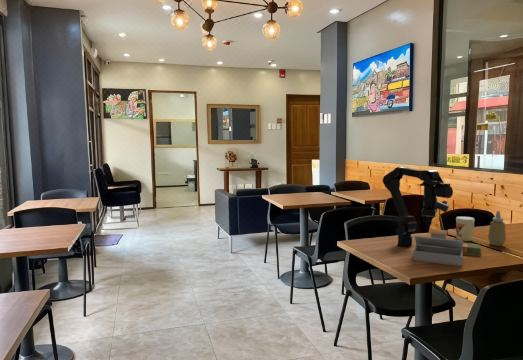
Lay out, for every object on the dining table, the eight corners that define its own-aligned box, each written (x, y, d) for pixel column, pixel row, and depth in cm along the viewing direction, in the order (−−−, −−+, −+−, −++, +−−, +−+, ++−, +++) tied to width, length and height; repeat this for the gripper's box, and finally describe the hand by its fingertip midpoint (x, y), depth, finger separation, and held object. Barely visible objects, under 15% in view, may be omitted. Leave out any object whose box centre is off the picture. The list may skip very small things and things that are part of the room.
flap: (414, 236, 180) (415, 227, 181) (416, 244, 189) (417, 235, 191) (463, 241, 170) (463, 231, 172) (462, 249, 180) (462, 239, 182)
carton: (443, 248, 199) (444, 240, 199) (479, 252, 192) (479, 243, 192) (443, 252, 192) (444, 244, 191) (480, 256, 185) (481, 248, 185)
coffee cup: (452, 237, 221) (452, 216, 220) (468, 237, 221) (469, 216, 220) (459, 241, 212) (460, 219, 211) (477, 241, 212) (478, 219, 210)
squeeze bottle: (507, 247, 199) (509, 212, 197) (489, 246, 202) (491, 212, 200) (503, 243, 207) (505, 210, 205) (486, 242, 209) (487, 209, 207)
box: (413, 260, 179) (413, 250, 179) (416, 253, 190) (416, 244, 189) (461, 266, 170) (462, 256, 170) (462, 258, 181) (462, 249, 180)
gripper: (447, 199, 177) (446, 233, 179) (449, 194, 194) (447, 225, 195) (421, 197, 182) (420, 230, 184) (424, 193, 199) (423, 223, 200)
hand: (428, 227), depth 191 cm, fingers open, 9 cm apart
